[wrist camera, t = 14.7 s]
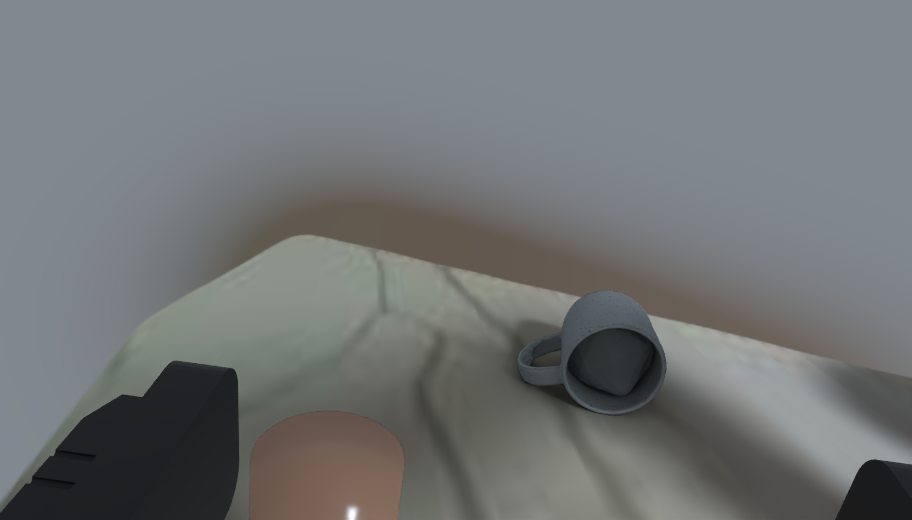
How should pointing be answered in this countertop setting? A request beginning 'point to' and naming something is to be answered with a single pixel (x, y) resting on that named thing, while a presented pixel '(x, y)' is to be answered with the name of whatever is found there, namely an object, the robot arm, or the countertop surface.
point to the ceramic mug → (601, 355)
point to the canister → (326, 469)
